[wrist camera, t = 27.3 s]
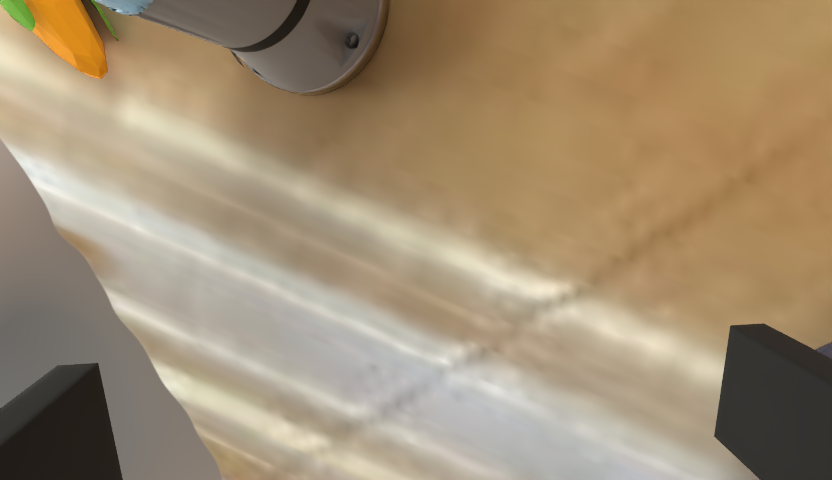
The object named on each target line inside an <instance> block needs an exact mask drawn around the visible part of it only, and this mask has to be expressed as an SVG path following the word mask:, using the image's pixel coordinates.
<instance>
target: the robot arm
mask: <svg viewBox="0 0 832 480" xmlns="http://www.w3.org/2000/svg"><path fill="white" fill-rule="evenodd" d="M94 1H96V2H99V3H101V4H103V5H105V6H107V7H108V8H109V9H110V10H113V11H115V12H117V13H120V14H123V15H130V16H132V15H133V16H136V17H139V18H142V19H145V20H148V21H151V22H154V23H156V24H159V25H162V26H165V27H168V28H171V29H174V30H176V31H179V32H182V33H185V34H188V35H191V36H194V37H197V38H199V39H202V40H205V41H208V42H211V43H214V44H217V45H220V46H223V47H226V48H228V49H230V51H231V52H232V53H233V55H234V56H235V58H236V59H237V61H238V62H239V63H240V64H241V65H242V63H241V62H240V60H239V59H238V58H237V56H236V55H238V56H239V57H240V58H241V59H242V60H243V61H244V63H245V64H246V65H247V66H248V67H249V68H250V69H251V70H252V71H253V72H254V73H255V74H256V75H257V76H259V77H260V78H261V79H262V80H264V81H265V82H267V83H268V84H270V85H272V86H274V87H276V88H279V89H282V90H286V91H289V92H293V93H296V94H302V95H317V94H323V93H326V92H330V91H332V90H335V89H337V88H339V87H341V86H343V85H344V84H346V83H347V82H349V81H350V80H352V79H353V78H354V77H355V76H356V75H357V74H358V73H359V72H360V71H361V70H362V69H363V68H364V67H365V65H366V64H367V63H368V62H369V60H370V59H371V57H372V56H373V54H374V52H375V50H376V48H377V47H378V44H379V42H380V40H381V37H382V34H383V31H384V28H385V24H386V19H387V13H388V0H94ZM235 54H236V55H235ZM242 66H243V65H242ZM243 67H244V66H243ZM714 437H716V438H717V439H718V440H719V441H720V442H721V443H722V444H723V445H724V446H725V447H726V448H727V449H728V450H729V451H731V452H732V453H733V454H734V455H735V456H736V457H737V458H738V459H739V460H740V461H741V462H742V463H743V464H744V465H745V466H747V467H748V468H749V469H750V470H751V471H752V472H753V473H754V474H755V475H756V476H757V477H758V478H759V479H760V480H832V359H831V358H829V357H827V356H825V355H823V354H821V353H820V352H818V351H816V350H814V349H812V348H810V347H808V346H806V345H804V344H802V343H800V342H798V341H796V340H795V339H793V338H791V337H789V336H787V335H785V334H783V333H781V332H779V331H777V330H775V329H773V328H772V327H770V326H768V325H766V324H749V325H732V326H730V332H729V339H728V346H727V353H726V360H725V367H724V373H723V380H722V387H721V394H720V401H719V408H718V414H717V421H716V428H715V435H714ZM0 480H123V479H122V474H121V470H120V465H119V460H118V455H117V450H116V446H115V441H114V436H113V432H112V427H111V422H110V418H109V413H108V408H107V403H106V399H105V394H104V389H103V385H102V380H101V375H100V370H99V366H98V363H93V364H76V365H59V366H56V367H55V368H54V369H53V370H51V371H50V372H48V373H47V374H46V375H44V376H43V377H42V378H40V379H39V380H38V381H36V382H35V383H34V384H32V385H31V386H30V387H28V388H27V389H26V390H25V391H23V392H22V393H20V394H19V395H18V396H16V397H15V398H14V399H12V400H11V401H10V402H8V403H7V404H6V405H4V406H3V407H2V408H0Z"/></svg>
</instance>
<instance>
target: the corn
mask: <svg viewBox="0 0 832 480" xmlns="http://www.w3.org/2000/svg"><path fill="white" fill-rule="evenodd" d="M90 2H91V3H92V4H93V5H94V7H95V8H96V9H97V11H98V12H99V13H100V15H101V16H102V18H103V20H104V21H105V23H106V25H107V26H108V28H109V29H110V31H111V33H112V34H113V35H114V36H115V38H116V40H117V41H118V39H117V37H116V35H115V33H114V31H113V29H112V27H111V25H110V24H109V22H108V20H107V18H106V16H105V15H104V13H103V12H102V10H101V9H100V7H99V6H98V5H97V3H96V2H95V1H94V0H90ZM0 4H1V5H2V7H3V8H4V9H5V10H6V11H7V12H8V13H9V15H10V16H11V17H12V18H13V19H15V20H16V21H17V22H18V23H20V24H21V25H22V26H24V27H25V28H27V29H28V30H30V31H33V32H34V33H35V34H36V35H37V36H38V37H39V38H40V39H41V40H42V41H43V42H44V43H45V44H46V45H47V46H48V47H49V48H50V49H51V50H52V51H53V52H54V53H56V54H57V55H58V56H60V57H61V58H63V59H64V60H65V61H67V62H68V63H69V64H71V65H72V66H73V67H75V68H76V69H77V70H79V71H80V72H83V73H85V74H87V75H89V76H91V77H94V78H98V79H101V78H102V77H103V76H104V75H105V74H106V73H107V71H108V70H107V63H106V57H105V51H104V45H103V42H102V40H101V38H100V36H99V34H98V32H97V31H96V29H95V27H94V25H93V23H92V21H91V19H90V17H89V15H88V13H87V11H86V9H85V7H84V5H83V3H82V2H81V0H0Z"/></svg>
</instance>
